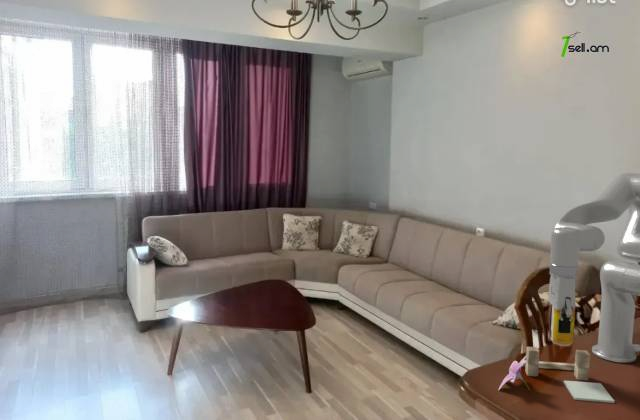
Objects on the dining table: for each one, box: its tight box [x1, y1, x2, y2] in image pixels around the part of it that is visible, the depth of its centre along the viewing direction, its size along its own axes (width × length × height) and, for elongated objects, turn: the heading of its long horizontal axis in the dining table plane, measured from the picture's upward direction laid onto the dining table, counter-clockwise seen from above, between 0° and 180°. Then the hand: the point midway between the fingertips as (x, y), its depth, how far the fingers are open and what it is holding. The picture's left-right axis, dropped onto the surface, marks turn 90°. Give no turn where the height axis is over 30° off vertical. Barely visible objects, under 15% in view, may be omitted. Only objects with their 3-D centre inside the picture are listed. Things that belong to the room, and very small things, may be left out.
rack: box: [521, 346, 591, 381], centre depth 153 cm, size 17×8×8 cm, turn 80°
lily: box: [498, 354, 531, 391], centre depth 143 cm, size 12×12×10 cm
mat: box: [563, 380, 615, 404], centre depth 141 cm, size 10×10×1 cm
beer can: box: [550, 298, 577, 347], centre depth 148 cm, size 6×6×15 cm
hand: (560, 328), depth 149 cm, fingers closed on beer can, 5 cm apart
